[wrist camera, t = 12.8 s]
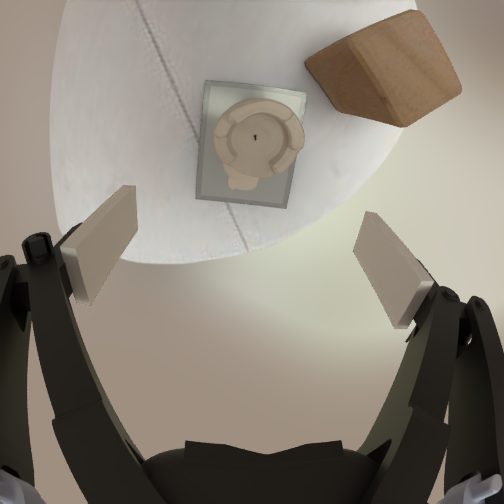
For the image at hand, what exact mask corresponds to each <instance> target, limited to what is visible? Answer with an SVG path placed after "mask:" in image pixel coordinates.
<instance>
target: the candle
mask: <svg viewBox="0 0 504 504" xmlns="http://www.w3.org/2000/svg"><path fill="white" fill-rule="evenodd" d="M303 146H304V130H303V127H302V124H301V122H300V120H299V119H298V117H297V116H296V115H295V113H294V112H293V111H292V110H291V108H289V107H288V106H286V105H285V104H283V103H281V102H278V101H276V100H271V99H266V98H251V99H246V100H243V101H241V102H238V103H236V104H234V105H233V106H231V107H230V108H229V109H227V110H226V111H225V112H224V113H223V114H222V116H221V117H220V118H219V120H218V122H217V123H216V126H215V128H214V148H215V151H216V154H217V156H218V157H219V159H220V160H221V161H222V162H223V167H224V170H225V172H226V173H227V174H228V175H229V178H228V186H229V187H230V188H231V189H232V190H234V189H239V190H252V189H254V188H255V187H256V186H257V183H258V180H259V178H269V177H271V176H273V174H279V173H281V172H283V171H284V170H286V169H287V168H288V167H289V166H290V165H291V163H292V162H293V161H294V159H295V157H296V156H297V154H298V152H299V150H301V149H302V147H303Z"/></svg>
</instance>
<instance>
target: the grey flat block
mask: <svg viewBox="0 0 504 504" xmlns="http://www.w3.org/2000/svg"><path fill="white" fill-rule="evenodd" d="M251 98H266V99H271V100H276V101H278V102H281V103H283V104H285V105H286V106H288V107H289V108H291V110H292V111H293V112H294V113H295V115H296V116H297V117H298V119H299V120H300V122H301V124H302V122H303V117H304V111H305V105H306V99H307V93H303V92H298V91H293V90H287V89H281V88H275V87H268V86H261V85H253V84H245V83H235V82H223V81H207V80H206V84H205V92H204V101H203V110H202V119H201V130H200V141H199V153H198V166H197V181H196V198H195V199H200V200H211V201H221V202H231V203H241V204H250V205H259V206H267V207H275V208H283V209H286V208H287V203H288V198H289V193H290V188H291V182H292V177H293V172H294V167H295V161H296V157H295V159H294V161H293V162H292V163H291V165H290V166H289V167H288V168H287V169H286V170H284V171H283V172H281V173H279V174H273V176H271V177H269V178H259V180H258V183H257V186H256V187H255V188H254V189H252V190H239V189H234V190H232V189H231V188H230V187H229V186H228V178H229V175H228V174H227V173H226V172H225V170H224V167H223V162H222V161H221V160H220V159H219V157H218V156H217V154H216V151H215V148H214V128H215V126H216V123H217V122H218V120H219V118H220V117H221V116H222V114H223V113H224V112H225V111H226V110H227V109H229V108H230V107H231V106H233V105H234V104H236V103H238V102H241V101H243V100H246V99H251Z"/></svg>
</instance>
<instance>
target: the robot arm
mask: <svg viewBox="0 0 504 504" xmlns="http://www.w3.org/2000/svg"><path fill="white" fill-rule="evenodd" d="M137 231H138V223H137V207H136V186H126V185H123V186H122V187H121V188H120V189H119V190H118V191H116V192H115V193H114V194H113V195H112V196H111V197H110V198H109V199H107V200H106V201H105V202H104V203H103V204H102V205H101V206H100V207H99V208H98V209H97V210H96V211H95V212H93V213H92V214H91V215H90V216H89V217H88V218H87V219H86V220H85V221H84V222H83V223H79V224H77V225H76V226H74V227H72V228H71V229H70V230H69V231H68V232H67V234H65V235H64V236H63V238H62V239H61V240H60V241H59V242H58V243H57V244H56V245H55V246H54V247H53V245H52V241H51V236H50V235H49V233H46V232H40V233H35V234H33V235H31V236H29V237H28V238H26V239H25V240H24V241H23V243H22V248H23V252H24V255H25V258H26V261H27V264H21V265H17V264H16V261H15V258H14V257H13V256H12V255H5V256H1V257H0V504H46V503H45V501H44V500H43V499H42V498H41V496H40V494H39V493H38V492H37V490H36V489H35V488H34V485H35V484H34V468H33V460H32V453H31V445H30V437H29V426H28V410H27V367H28V366H27V365H28V350H29V338H30V330H31V321H32V323H33V330H34V336H35V341H36V346H37V351H38V356H39V360H40V365H41V369H42V373H43V377H44V381H45V384H46V388H47V391H48V394H49V398H50V401H51V404H52V407H53V410H54V413H55V419H53V420H52V426H53V429H54V432H55V435H56V438H57V440H58V443H59V445H60V448H61V450H62V452H63V455H64V457H65V459H66V461H67V464H68V466H69V468H70V470H71V472H72V474H73V476H74V478H75V480H76V482H77V484H78V486H79V488H80V489H81V491H82V493H83V495H84V497H85V498H86V500H87V502H88V504H428V503H427V500H428V498H429V496H430V494H431V491H432V489H433V486H434V484H435V481H436V478H437V476H438V473H439V470H440V467H441V464H442V461H443V458H444V455H445V452H446V448H447V454H446V463H445V475H444V499H442V500H440V501H438V503H437V504H504V352H503V348H502V345H501V342H500V338H499V335H498V332H497V329H496V326H495V323H494V320H493V317H492V314H491V312H490V309H489V307H488V305H487V304H486V303H485V301H484V300H483V299H482V298H479V297H477V296H472V297H471V298H470V300H469V301H468V303H467V304H466V303H463V302H460V299H459V297H458V295H457V294H456V293H455V292H454V291H453V290H451V289H450V288H448V287H445V286H439V285H438V284H437V282H436V281H435V280H434V279H433V277H432V276H431V274H430V273H428V271H427V269H426V268H424V266H423V264H422V263H421V262H420V261H419V260H418V259H416V258H415V257H414V255H413V254H412V253H411V252H410V250H409V249H408V248H407V247H406V246H405V245H404V243H403V242H402V241H401V240H400V239H399V237H398V236H397V235H396V234H395V233H394V232H393V231H392V229H391V228H390V227H389V226H388V225H387V224H386V223H385V222H384V221H383V219H382V218H381V217H380V216H379V215H378V214H377V213H373V212H367V211H366V212H365V215H364V219H363V222H362V225H361V228H360V231H359V234H358V237H357V240H356V243H355V246H354V249H353V252H354V254H355V256H356V257H357V259H358V261H359V263H360V265H361V266H362V268H363V270H364V272H365V273H366V275H367V277H368V279H369V281H370V283H371V284H372V286H373V288H374V290H375V292H376V293H377V296H378V298H379V299H380V301H381V303H382V305H383V307H384V309H385V311H386V313H387V315H388V317H389V319H390V321H391V323H392V325H393V327H394V329H407V328H408V326H409V325H410V323H411V321H412V320H413V319H414V321H415V323H416V326H415V328H414V329H413V331H412V332H411V334H410V335H409V337H408V338H407V340H406V341H405V342H408V341H409V343H408V346H407V349H406V352H405V354H404V357H403V360H402V362H401V365H400V368H399V370H398V373H397V375H396V378H395V380H394V382H393V385H392V387H391V389H390V392H389V394H388V396H387V399H386V401H385V403H384V405H383V407H382V409H381V411H380V413H379V415H378V417H377V419H376V421H375V423H374V425H373V427H372V429H371V431H370V433H369V435H368V436H367V438H366V440H365V442H364V443H363V444H362V446H361V447H360V448H359V449H358V450H357V451H353V450H348V449H343V447H342V441H341V440H339V441H331V442H322V443H311V444H305V445H301V446H298V447H295V448H291V449H288V450H284V451H281V452H277V453H273V454H261V453H256V452H252V451H248V450H244V449H240V448H237V447H233V446H229V445H226V444H213V443H212V444H211V443H202V442H193V441H185V448H182V449H175V450H169V451H166V452H163V453H159V454H157V455H155V456H153V457H151V458H149V459H147V460H145V459H144V458H143V456H142V455H141V453H140V452H139V450H138V449H137V447H136V446H135V445H134V443H133V442H132V440H131V439H130V437H129V435H128V434H127V432H126V430H125V429H124V427H123V425H122V423H121V422H120V420H119V418H118V416H117V414H116V413H115V411H114V409H113V407H112V405H111V403H110V401H109V399H108V397H107V395H106V393H105V391H104V389H103V387H102V385H101V383H100V380H99V378H98V376H97V374H96V371H95V369H94V367H93V365H92V362H91V360H90V357H89V355H88V352H87V350H86V347H85V345H84V342H83V340H82V337H81V334H80V331H79V328H78V325H77V323H76V319H75V317H74V314H73V310H72V307H71V304H70V301H69V297H70V295H71V294H72V292H73V294H74V297H75V300H76V303H81V304H85V305H90V306H91V304H92V303H93V301H94V299H95V297H96V296H97V294H98V292H99V290H100V289H101V287H102V285H103V284H104V282H105V280H106V279H107V277H108V275H109V274H110V272H111V270H112V269H113V267H114V265H115V264H116V262H117V261H118V259H119V258H120V256H121V255H122V253H123V252H124V250H125V248H126V247H127V245H128V244H129V242H130V241H131V239H132V238H133V236H134V235H135V234H136V232H137ZM471 338H472V339H471ZM470 339H471V342H470V343H469V345H468V342H469V341H470ZM448 401H449V416H448V424H446V423H444V418H445V414H446V409H447V405H448Z"/></svg>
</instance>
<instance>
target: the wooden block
mask: <svg viewBox="0 0 504 504" xmlns="http://www.w3.org/2000/svg"><path fill="white" fill-rule="evenodd" d="M305 64H306V67H307V68H308V70H309V71H310V72H311V73H312V75H313V76H314V78H315V79H316V80H317V82H318V83H319V84H320V86H321V87H322V89H323V90H324V91H325V93H326V94H327V96H328V97H329V99H330V100H331V102H332V103H333V105H334V106H335V108H336V109H337V110H338V111H339V112H341V113H346V114H350V115H355V116H359V117H363V118H367V119H371V120H375V121H379V122H383V123H386V124H390V125H393V126H397V127H400V128H401V127H408V126H409V125H411V124H412V123H414V122H416V121H417V120H418V119H420V118H422V117H424V116H425V115H427V114H428V113H430V112H432V111H433V110H435V109H436V108H438V107H440V106H441V105H443V104H444V103H446V102H448V101H449V100H451V99H453V98H454V97H456V96H458V95H459V94H460V93H461V92H462V86H461V83H460V81H459V79H458V77H457V74H456V72H455V70H454V68H453V66H452V64H451V61H450V60H449V58H448V56H447V54H446V52H445V50H444V48H443V46H442V44H441V42H440V41H439V39H438V37H437V35H436V33H435V32H434V30H433V28H432V27H431V25H430V23H429V22H428V20H427V19H426V17H425V16H424V14H422V13H421V12H420V11H418V10H411V9H410V10H407V11H405V12H402V13H399V14H397V15H394V16H391V17H389V18H386V19H384V20H382V21H379V22H377V23H374V24H372V25H370V26H368V27H365V28H363V29H361V30H359V31H357V32H355V33H353V34H351V35H349V36H347V37H345V38H343V39H341V40H339V41H337V42H335V43H333V44H332V45H330V46H328V47H326V48H324V49H323V50H321V51H319V52H317V53H316V54H314V55H312V56H311V57H309V58H307V60H306V61H305Z"/></svg>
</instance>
